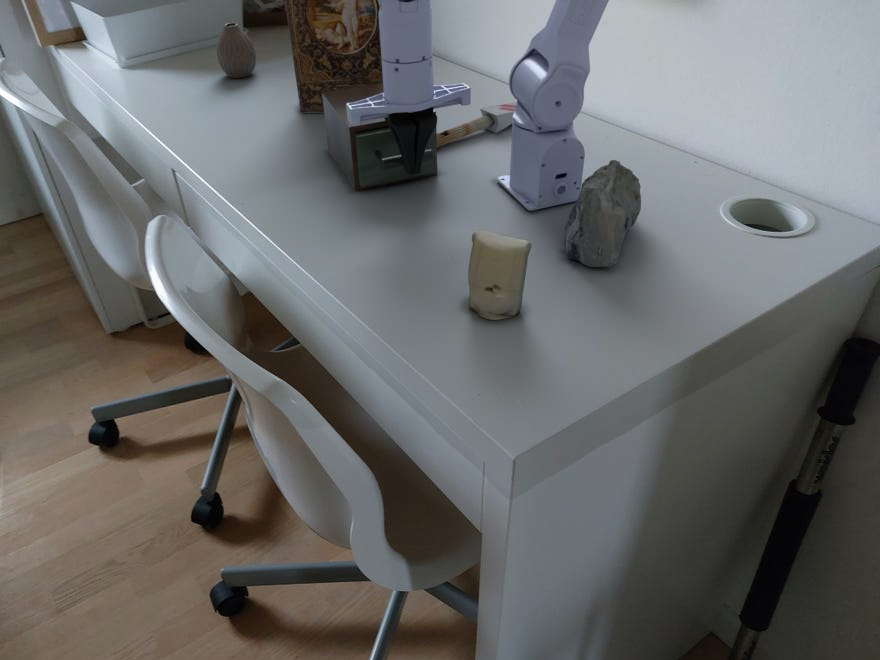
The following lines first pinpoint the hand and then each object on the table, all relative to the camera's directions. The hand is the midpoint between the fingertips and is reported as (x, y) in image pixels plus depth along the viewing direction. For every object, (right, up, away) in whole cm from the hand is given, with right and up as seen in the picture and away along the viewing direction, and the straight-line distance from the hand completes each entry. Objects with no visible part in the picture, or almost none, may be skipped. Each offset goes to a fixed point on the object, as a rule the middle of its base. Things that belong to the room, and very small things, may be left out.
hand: (412, 171), depth 87 cm
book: (-10, +19, +30) cm, 37 cm away
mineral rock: (+22, -10, -6) cm, 25 cm away
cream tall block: (+8, -18, -15) cm, 25 cm away
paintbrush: (+11, +11, +20) cm, 25 cm away
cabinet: (-4, +5, +13) cm, 14 cm away
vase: (-31, +30, +45) cm, 63 cm away
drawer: (-3, +3, +9) cm, 10 cm away
